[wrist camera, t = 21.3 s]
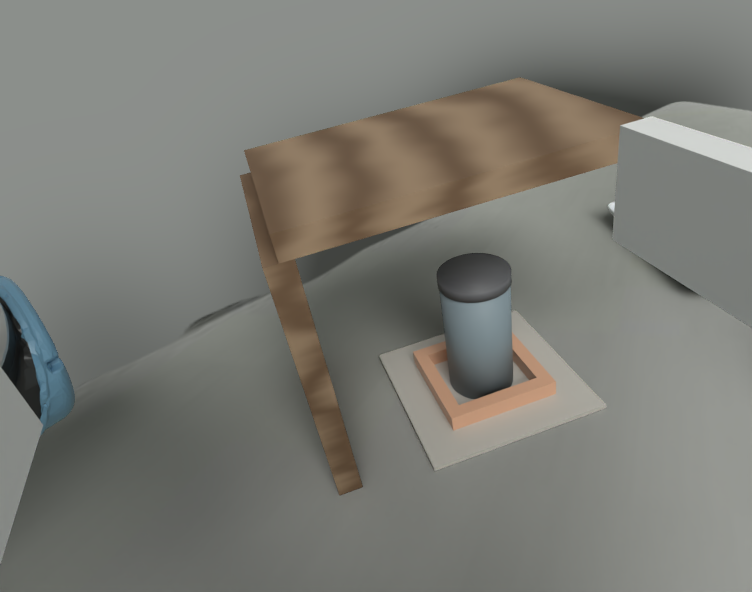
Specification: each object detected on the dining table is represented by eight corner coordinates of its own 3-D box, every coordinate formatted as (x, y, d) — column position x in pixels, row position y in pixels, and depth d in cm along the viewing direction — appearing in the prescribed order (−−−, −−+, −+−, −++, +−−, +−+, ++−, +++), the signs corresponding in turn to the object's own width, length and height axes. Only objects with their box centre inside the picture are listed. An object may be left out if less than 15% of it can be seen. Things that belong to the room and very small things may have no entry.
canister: (463, 408, 50) (452, 300, 43) (439, 367, 55) (426, 265, 48) (526, 388, 51) (525, 279, 44) (496, 349, 56) (491, 246, 49)
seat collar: (434, 471, 45) (432, 456, 44) (379, 358, 59) (376, 344, 58) (606, 408, 48) (607, 392, 47) (515, 312, 61) (515, 298, 60)
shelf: (339, 495, 45) (252, 239, 32) (302, 364, 60) (232, 153, 47) (628, 389, 49) (657, 122, 36) (526, 291, 64) (520, 77, 51)
